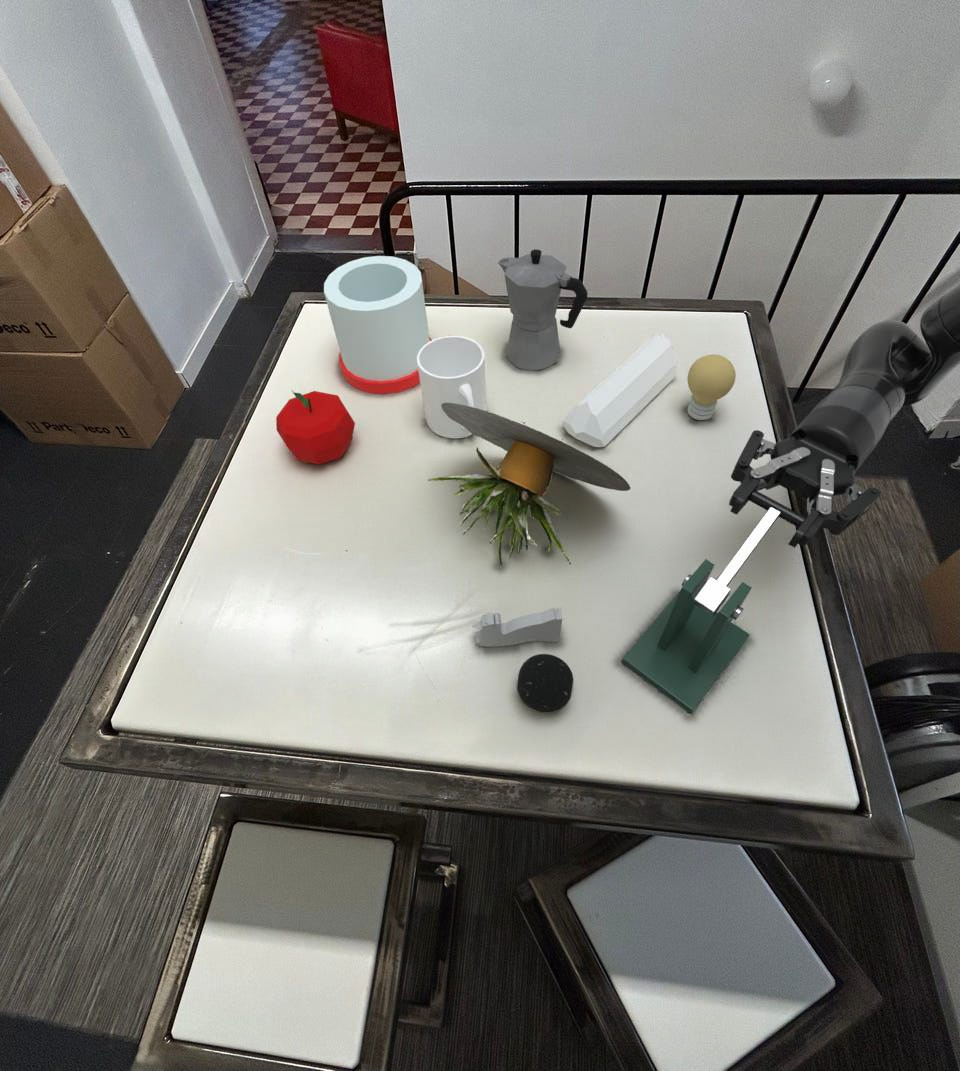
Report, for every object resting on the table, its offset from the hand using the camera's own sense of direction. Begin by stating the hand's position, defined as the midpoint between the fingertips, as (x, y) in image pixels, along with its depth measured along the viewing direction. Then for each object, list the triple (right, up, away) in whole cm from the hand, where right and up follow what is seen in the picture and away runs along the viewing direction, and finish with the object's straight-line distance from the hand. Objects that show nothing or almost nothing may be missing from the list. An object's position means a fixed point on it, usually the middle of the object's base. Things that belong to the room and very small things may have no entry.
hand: (764, 523), depth 60 cm
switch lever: (-2, -3, +2) cm, 4 cm away
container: (-43, +28, +44) cm, 68 cm away
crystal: (-6, +19, +35) cm, 40 cm away
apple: (-51, +12, +32) cm, 62 cm away
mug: (-31, +16, +34) cm, 49 cm away
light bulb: (+5, +17, +33) cm, 38 cm away
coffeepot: (-18, +29, +43) cm, 55 cm away
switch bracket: (-4, -14, +10) cm, 18 cm away
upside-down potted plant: (-22, +1, +23) cm, 32 cm away
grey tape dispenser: (-24, -14, +12) cm, 30 cm away
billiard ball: (-21, -19, +8) cm, 29 cm away
